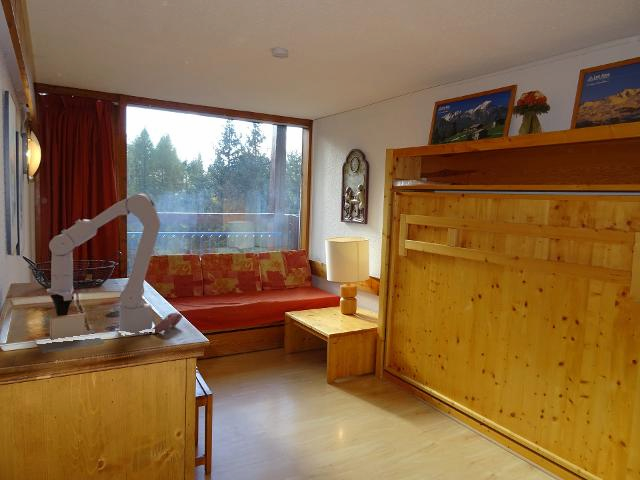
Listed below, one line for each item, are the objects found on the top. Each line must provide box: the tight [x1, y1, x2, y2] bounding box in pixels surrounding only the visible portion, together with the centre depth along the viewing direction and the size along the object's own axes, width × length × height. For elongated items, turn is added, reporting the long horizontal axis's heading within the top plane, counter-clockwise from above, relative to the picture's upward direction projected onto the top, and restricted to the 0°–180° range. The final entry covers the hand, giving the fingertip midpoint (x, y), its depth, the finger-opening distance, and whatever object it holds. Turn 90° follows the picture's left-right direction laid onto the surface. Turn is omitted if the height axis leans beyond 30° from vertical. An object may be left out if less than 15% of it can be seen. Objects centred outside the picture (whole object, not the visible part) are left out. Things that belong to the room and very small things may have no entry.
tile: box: [49, 312, 86, 340], centre depth 136 cm, size 9×2×7 cm, turn 131°
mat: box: [33, 329, 106, 354], centre depth 135 cm, size 16×13×1 cm
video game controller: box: [152, 311, 183, 334], centre depth 152 cm, size 10×5×7 cm, turn 168°
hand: (61, 317), depth 141 cm, fingers closed
